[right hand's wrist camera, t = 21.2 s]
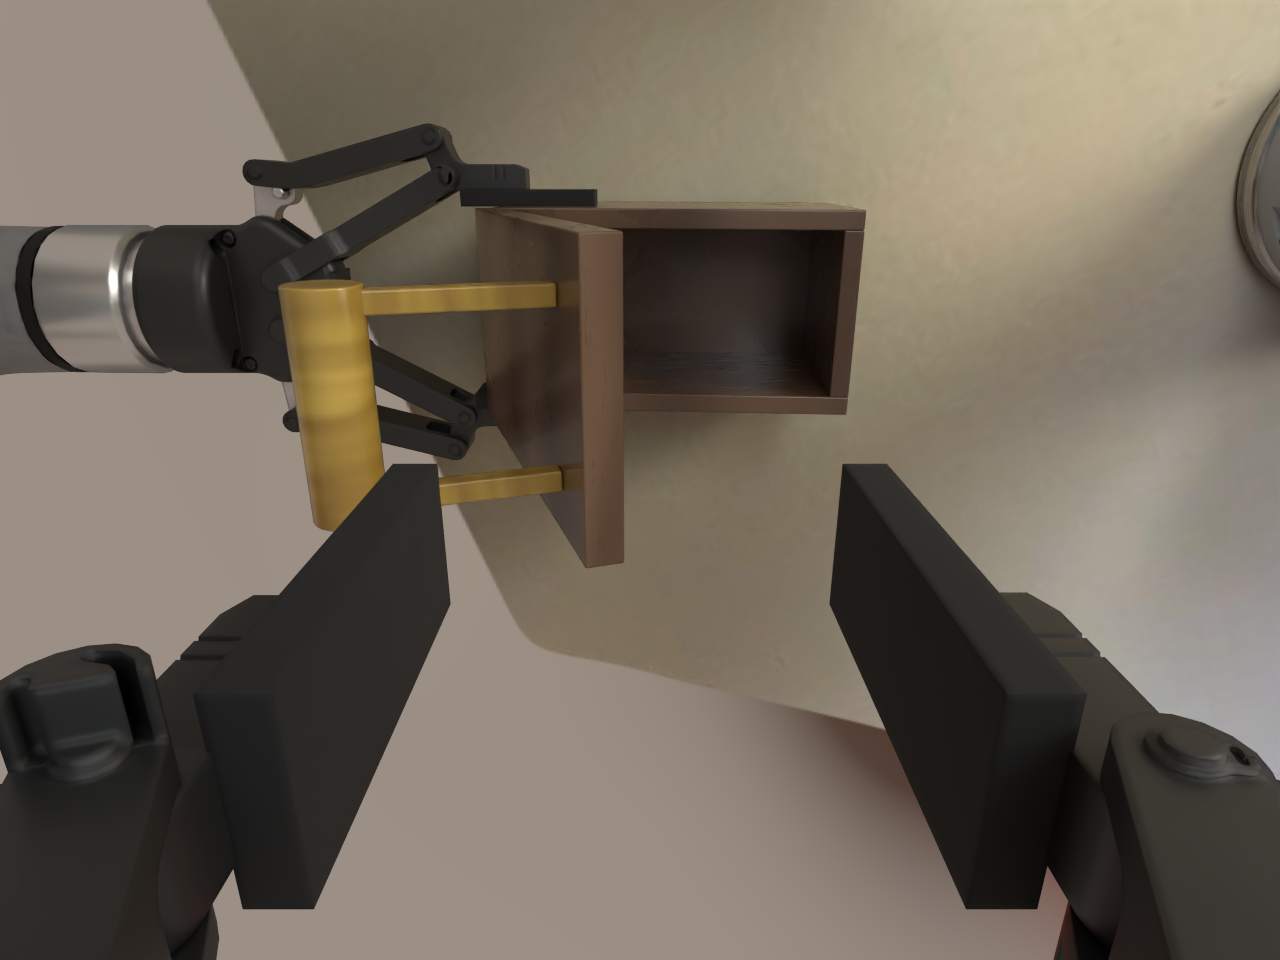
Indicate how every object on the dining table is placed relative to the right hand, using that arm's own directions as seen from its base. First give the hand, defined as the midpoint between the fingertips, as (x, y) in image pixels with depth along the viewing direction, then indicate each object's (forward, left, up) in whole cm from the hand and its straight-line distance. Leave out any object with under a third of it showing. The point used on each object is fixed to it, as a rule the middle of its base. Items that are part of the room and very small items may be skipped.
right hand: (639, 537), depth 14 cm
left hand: (0, -2, -30) cm, 30 cm away
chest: (0, +2, -36) cm, 36 cm away
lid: (+1, -3, -17) cm, 17 cm away
